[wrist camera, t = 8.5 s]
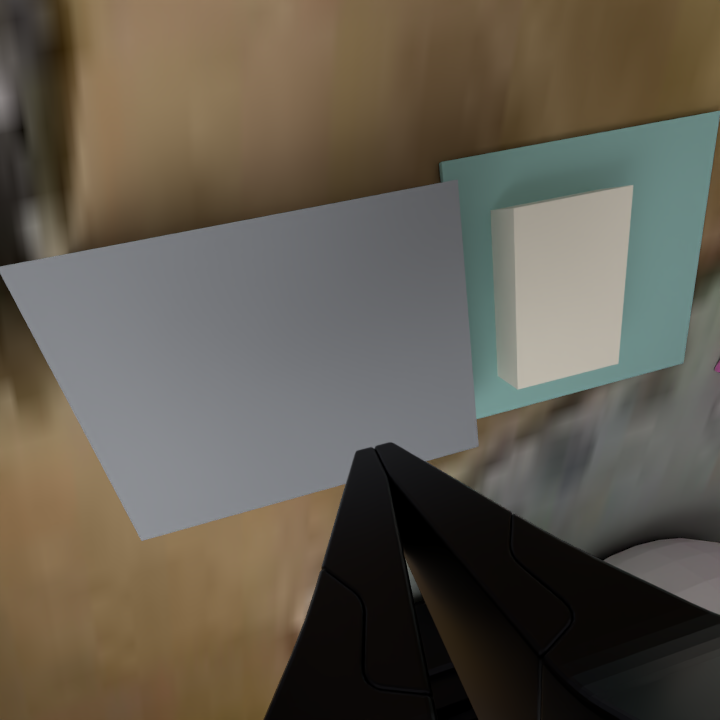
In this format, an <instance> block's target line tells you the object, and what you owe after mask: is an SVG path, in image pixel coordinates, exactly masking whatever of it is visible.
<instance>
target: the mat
mask: <svg viewBox="0 0 720 720" xmlns="http://www.w3.org/2000/svg"><path fill="white" fill-rule="evenodd" d="M719 117H720V111H715V112H710V113H704V114H699V115H694V116H688V117H683V118H677V119H672V120H666V121H661V122H656V123H650V124H645V125H639V126H634V127H628V128H623V129H618V130H612V131H607V132H601V133H596V134H590V135H585V136H580V137H574V138H569V139H563V140H558V141H552V142H547V143H542V144H536V145H531V146H525V147H520V148H514V149H509V150H504V151H498V152H493V153H487V154H482V155H476V156H471V157H466V158H460V159H455V160H449V161H444V162H440V163H439V169H440V179H441V183H442V182H447V181H452V180H458V189H459V202H460V214H461V227H462V240H463V253H464V266H465V279H466V291H467V304H468V317H469V330H470V343H471V356H472V369H473V381H474V394H475V407H476V419H479V418H483V417H487V416H490V415H494V414H498V413H501V412H505V411H509V410H513V409H516V408H520V407H524V406H527V405H531V404H535V403H538V402H542V401H546V400H549V399H553V398H557V397H560V396H564V395H568V394H572V393H575V392H579V391H583V390H586V389H590V388H594V387H597V386H601V385H605V384H608V383H612V382H616V381H619V380H623V379H627V378H631V377H634V376H638V375H642V374H645V373H649V372H653V371H656V370H660V369H664V368H667V367H671V366H675V365H679V364H682V363H684V356H685V349H686V342H687V335H688V328H689V322H690V315H691V308H692V301H693V294H694V287H695V281H696V274H697V267H698V260H699V253H700V246H701V240H702V233H703V226H704V219H705V212H706V205H707V199H708V192H709V185H710V178H711V171H712V164H713V158H714V151H715V144H716V137H717V130H718V123H719ZM629 185H633V197H632V209H631V220H630V232H629V244H628V256H627V268H626V280H625V291H624V303H623V315H622V327H621V339H620V350H619V362H618V364H615V365H611V366H608V367H604V368H600V369H596V370H592V371H588V372H584V373H580V374H577V375H573V376H569V377H565V378H561V379H557V380H553V381H549V382H545V383H542V384H538V385H534V386H530V387H526V388H522V389H516V388H515V387H513V386H512V385H510V384H509V383H507V382H506V381H504V380H503V379H502V378H500V377H499V376H498V373H497V350H496V327H495V304H494V281H493V258H492V236H491V213H490V210H495V209H501V208H506V207H511V206H516V205H521V204H526V203H531V202H537V201H542V200H547V199H552V198H557V197H562V196H567V195H573V194H578V193H583V192H588V191H593V190H598V189H605V188H613V187H621V186H629Z"/></svg>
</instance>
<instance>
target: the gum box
mask: <svg viewBox="0 0 720 720" xmlns="http://www.w3.org/2000/svg"><path fill="white" fill-rule="evenodd" d="M715 371H716V372H719V373H720V360H719V362H718V363H717V365H716V367H715Z"/></svg>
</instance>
